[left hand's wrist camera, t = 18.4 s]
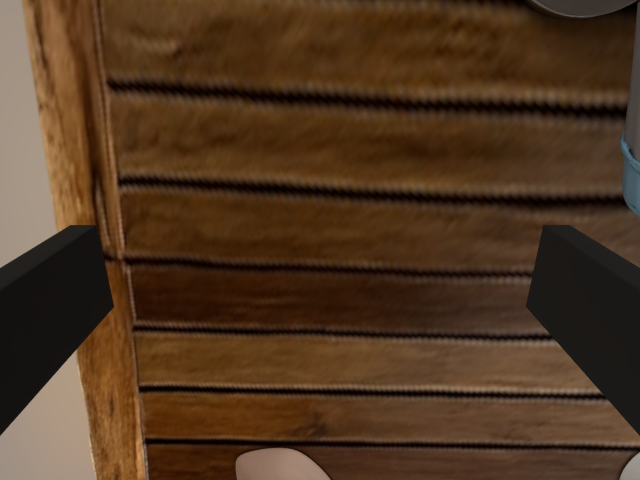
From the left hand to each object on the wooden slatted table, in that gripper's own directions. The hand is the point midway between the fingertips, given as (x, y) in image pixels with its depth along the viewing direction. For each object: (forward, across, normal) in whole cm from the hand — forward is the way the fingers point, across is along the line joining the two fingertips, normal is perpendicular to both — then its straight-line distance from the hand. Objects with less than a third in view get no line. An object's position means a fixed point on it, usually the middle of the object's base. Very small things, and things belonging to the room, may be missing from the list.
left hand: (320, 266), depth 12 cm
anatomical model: (+28, -5, -45) cm, 53 cm away
